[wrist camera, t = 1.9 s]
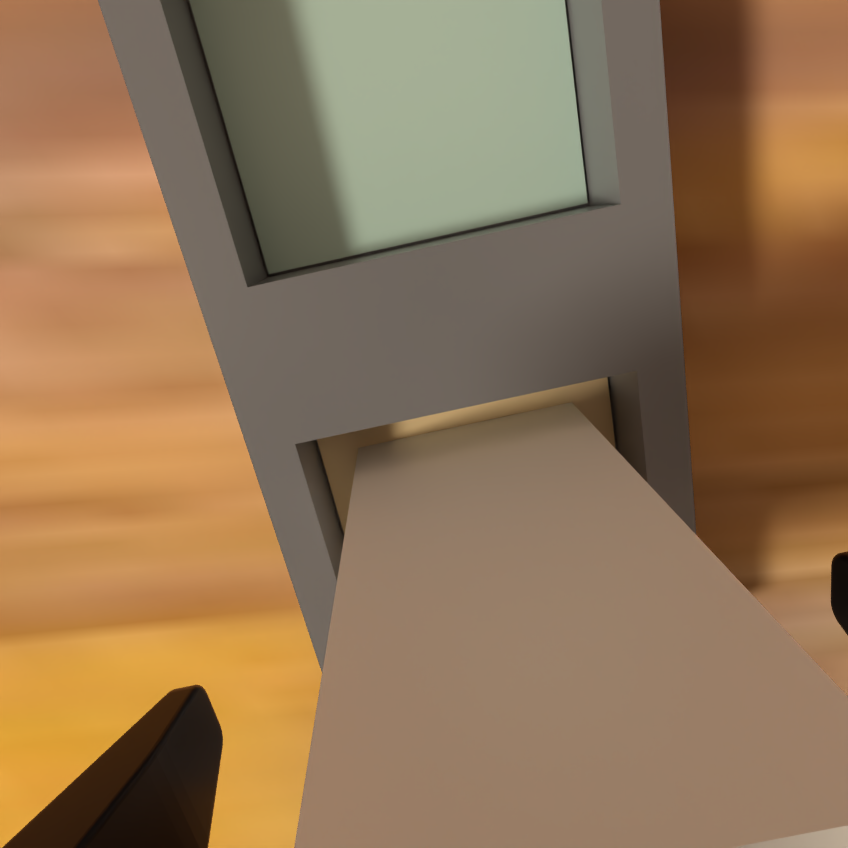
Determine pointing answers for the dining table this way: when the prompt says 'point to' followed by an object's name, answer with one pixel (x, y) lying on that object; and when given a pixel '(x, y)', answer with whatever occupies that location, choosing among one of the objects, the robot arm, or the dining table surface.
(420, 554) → the plug
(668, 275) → the socket panel
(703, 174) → the dining table surface
